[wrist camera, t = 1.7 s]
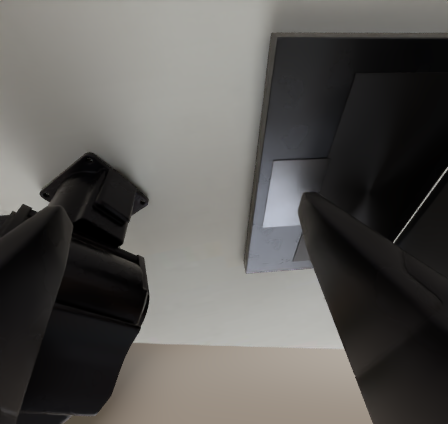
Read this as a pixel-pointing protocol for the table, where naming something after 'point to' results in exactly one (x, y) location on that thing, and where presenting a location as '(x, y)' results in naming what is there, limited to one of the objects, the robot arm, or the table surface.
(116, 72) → the table surface
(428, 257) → the laptop screen
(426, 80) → the laptop
